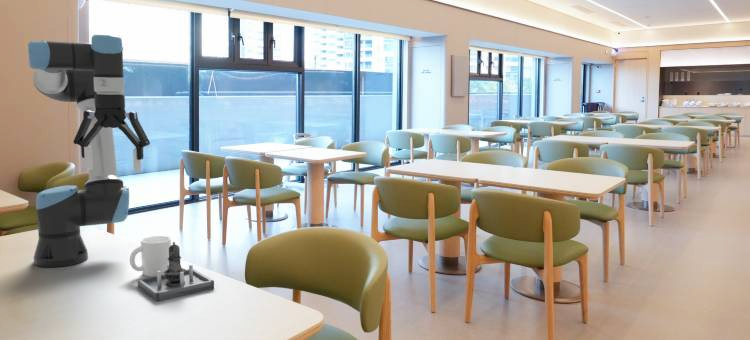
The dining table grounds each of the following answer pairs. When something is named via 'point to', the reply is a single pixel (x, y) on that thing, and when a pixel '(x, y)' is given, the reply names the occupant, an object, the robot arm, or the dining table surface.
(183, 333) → the dining table surface
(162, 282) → the tray
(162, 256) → the mug
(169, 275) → the dark grey tall piece
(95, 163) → the robot arm
